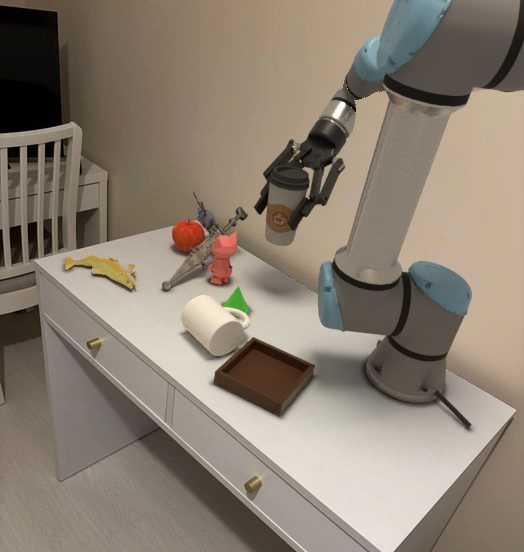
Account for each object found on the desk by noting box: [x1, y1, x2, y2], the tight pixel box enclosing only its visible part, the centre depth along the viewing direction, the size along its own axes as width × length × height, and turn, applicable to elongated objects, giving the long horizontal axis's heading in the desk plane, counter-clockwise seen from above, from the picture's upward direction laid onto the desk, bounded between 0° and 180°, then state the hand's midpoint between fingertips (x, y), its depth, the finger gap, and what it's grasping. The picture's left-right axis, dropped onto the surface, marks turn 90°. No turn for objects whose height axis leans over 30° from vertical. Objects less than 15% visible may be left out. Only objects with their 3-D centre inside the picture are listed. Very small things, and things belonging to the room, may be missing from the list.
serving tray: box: [213, 336, 316, 417], centre depth 100 cm, size 14×14×3 cm
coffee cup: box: [264, 165, 311, 247], centre depth 115 cm, size 8×8×15 cm
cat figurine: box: [207, 230, 239, 285], centre depth 123 cm, size 7×7×12 cm
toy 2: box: [192, 191, 217, 231], centre depth 136 cm, size 15×4×15 cm
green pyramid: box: [222, 285, 249, 318], centre depth 117 cm, size 6×6×6 cm
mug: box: [180, 294, 251, 357], centre depth 107 cm, size 12×10×8 cm
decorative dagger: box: [161, 206, 249, 291], centre depth 127 cm, size 7×2×30 cm
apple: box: [171, 218, 206, 253], centre depth 134 cm, size 8×8×8 cm
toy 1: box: [64, 253, 138, 290], centre depth 121 cm, size 20×3×10 cm
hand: (273, 218), depth 114 cm, fingers closed on coffee cup, 8 cm apart
